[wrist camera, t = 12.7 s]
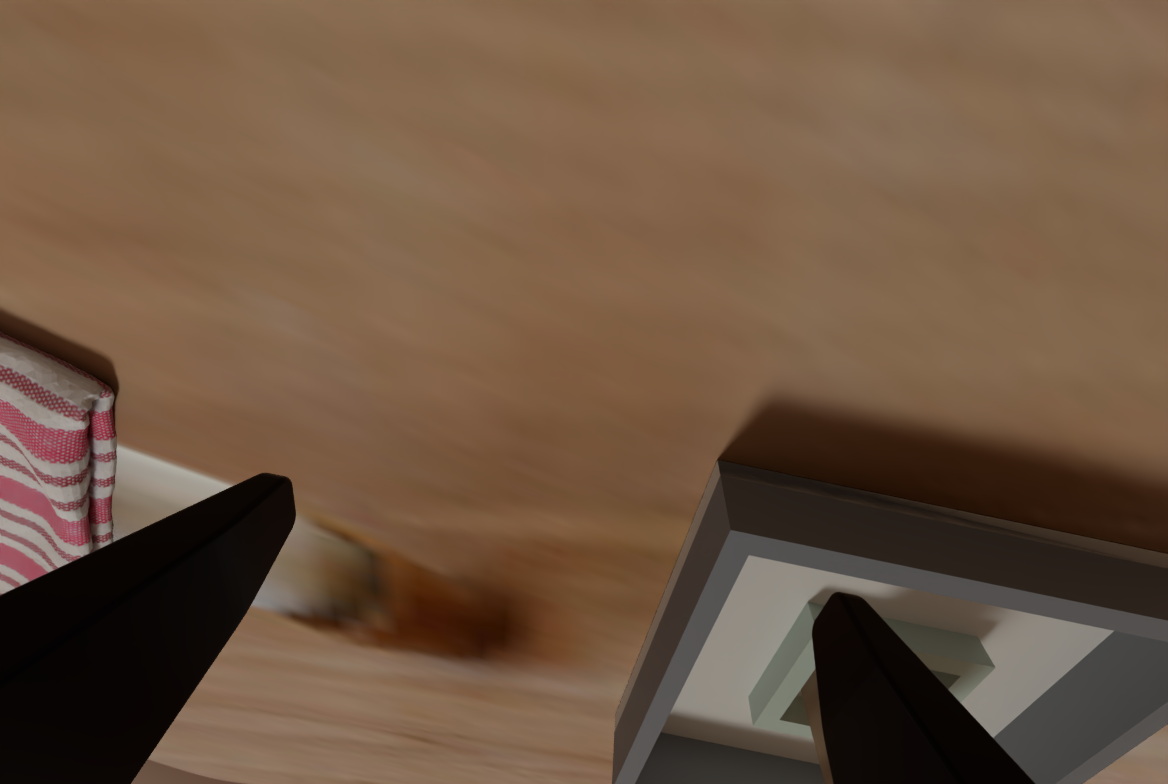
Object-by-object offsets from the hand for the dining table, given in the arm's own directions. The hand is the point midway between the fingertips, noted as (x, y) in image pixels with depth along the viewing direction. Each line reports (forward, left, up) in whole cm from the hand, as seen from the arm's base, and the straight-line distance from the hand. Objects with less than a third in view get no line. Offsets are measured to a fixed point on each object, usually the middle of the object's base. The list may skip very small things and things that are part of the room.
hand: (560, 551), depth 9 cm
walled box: (-16, +16, -12) cm, 26 cm away
